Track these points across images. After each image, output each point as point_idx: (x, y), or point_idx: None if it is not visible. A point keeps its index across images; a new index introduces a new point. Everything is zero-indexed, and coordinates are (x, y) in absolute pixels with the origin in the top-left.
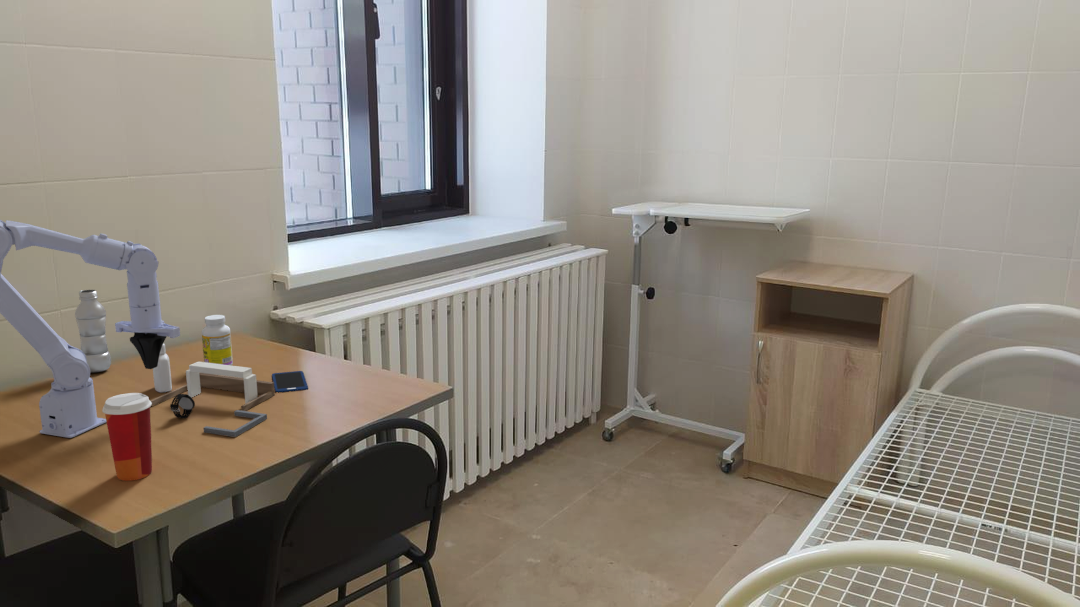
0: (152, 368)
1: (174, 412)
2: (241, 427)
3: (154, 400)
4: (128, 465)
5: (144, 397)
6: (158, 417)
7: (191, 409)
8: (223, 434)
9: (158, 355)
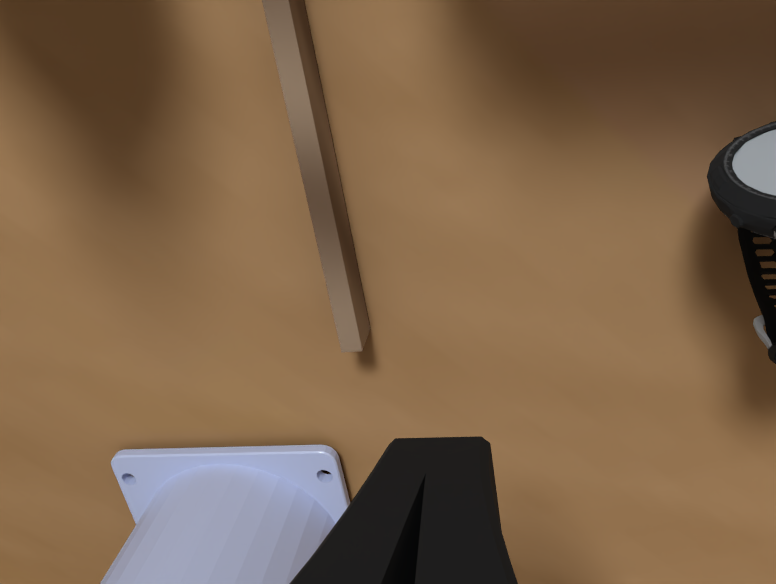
0: (498, 519)
1: (767, 297)
2: None
3: (312, 106)
4: None
5: None
6: (569, 269)
7: None
8: None
9: (506, 569)
